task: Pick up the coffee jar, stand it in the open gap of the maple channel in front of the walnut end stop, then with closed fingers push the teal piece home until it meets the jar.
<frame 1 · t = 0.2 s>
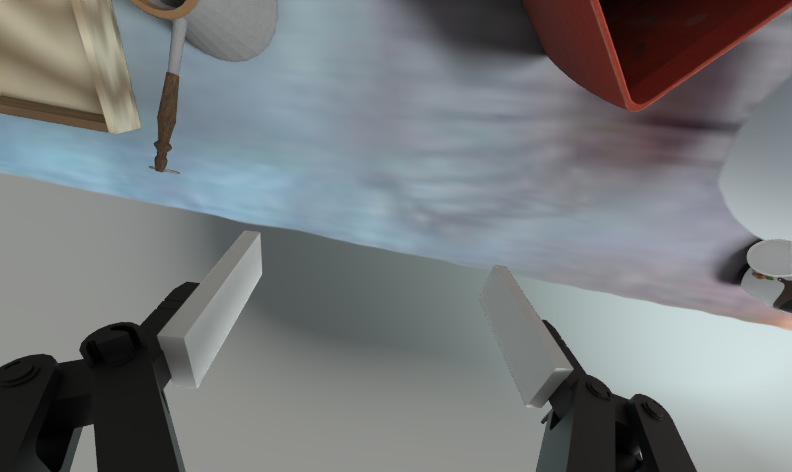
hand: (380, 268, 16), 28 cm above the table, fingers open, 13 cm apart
coffee pot: (232, 52, 33), on the table
spread jar: (755, 261, 55), on the table
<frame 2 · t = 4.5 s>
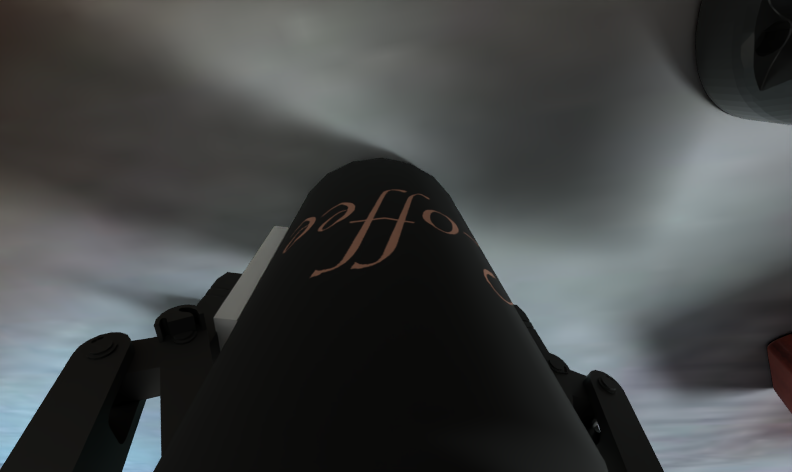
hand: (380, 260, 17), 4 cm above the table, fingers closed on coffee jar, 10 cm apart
coffee jar: (379, 226, 20), on the table, touching gripper
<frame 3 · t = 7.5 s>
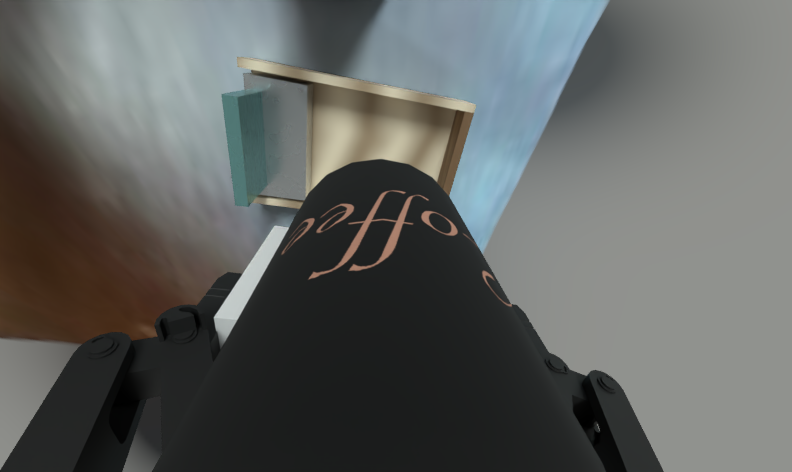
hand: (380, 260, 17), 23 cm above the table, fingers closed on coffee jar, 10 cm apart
teal piece: (274, 147, 29), point 5 cm above the table, slide at 0.0 cm
channel: (357, 148, 35), on the table
coffee jar: (379, 227, 20), point 19 cm above the table, touching gripper
when the fingers open (5 cm above the table, at t = 10.9 s): coffee jar stays where it is, resting on channel.
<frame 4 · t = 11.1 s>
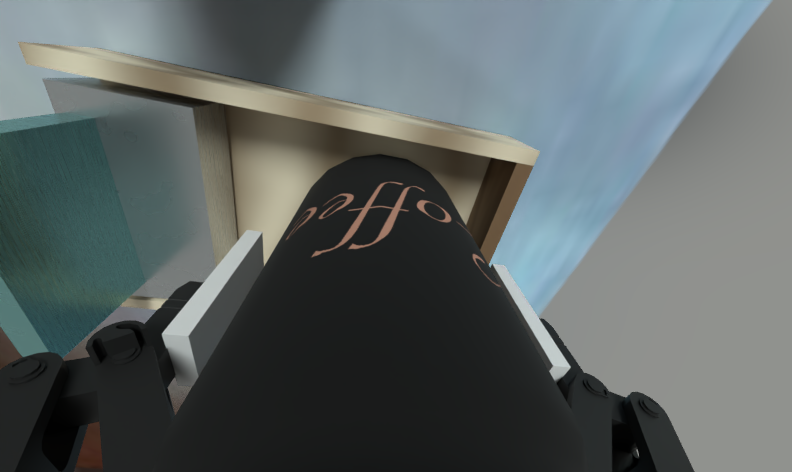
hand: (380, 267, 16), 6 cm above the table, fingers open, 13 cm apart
teal piece: (134, 228, 15), point 5 cm above the table, slide at 0.0 cm
channel: (319, 209, 20), on the table
coffee jar: (378, 221, 21), resting on channel
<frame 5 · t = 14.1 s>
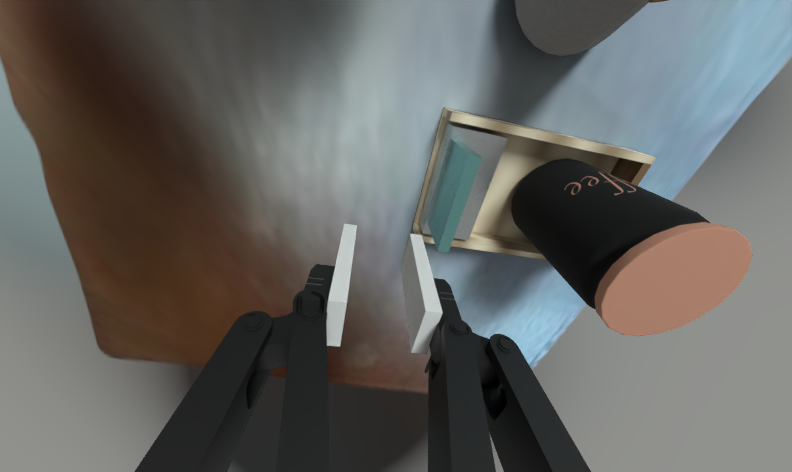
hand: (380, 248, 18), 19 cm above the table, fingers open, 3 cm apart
teal piece: (464, 194, 30), point 5 cm above the table, slide at 0.0 cm
coffee pot: (605, 3, 27), on the table
channel: (514, 189, 36), on the table
coffee jar: (547, 196, 37), resting on channel
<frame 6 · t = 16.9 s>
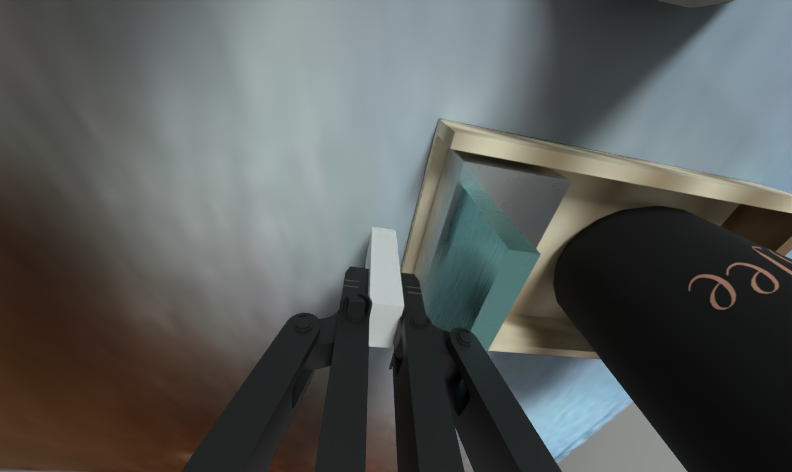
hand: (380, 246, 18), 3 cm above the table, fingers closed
teal piece: (485, 283, 16), point 5 cm above the table, slide at 0.3 cm, touching gripper
channel: (558, 249, 22), on the table
coffee jar: (611, 259, 22), resting on channel
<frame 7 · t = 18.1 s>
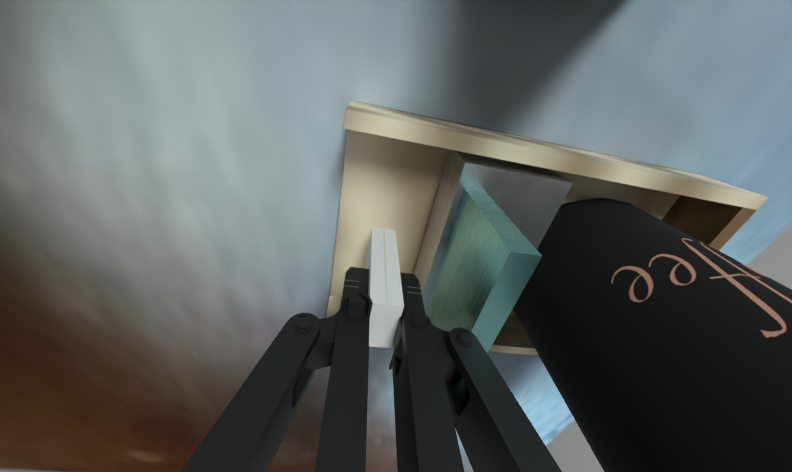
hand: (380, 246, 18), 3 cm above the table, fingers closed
teal piece: (485, 284, 16), point 5 cm above the table, slide at 5.5 cm, touching coffee jar, gripper
channel: (497, 241, 21), on the table
coffee jar: (562, 254, 22), resting on channel, touching teal piece
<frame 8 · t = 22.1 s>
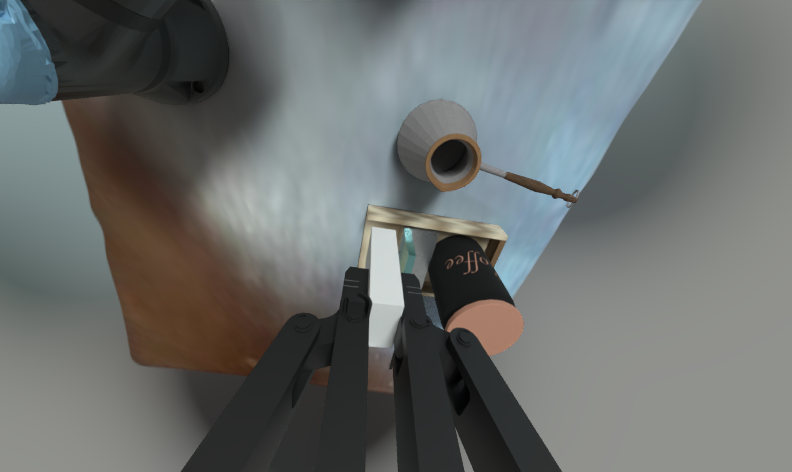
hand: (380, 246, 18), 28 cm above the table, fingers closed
teal piece: (414, 266, 47), point 5 cm above the table, slide at 5.6 cm
coffee pot: (462, 147, 43), on the table
channel: (425, 250, 53), on the table
coffee jar: (453, 255, 53), resting on channel
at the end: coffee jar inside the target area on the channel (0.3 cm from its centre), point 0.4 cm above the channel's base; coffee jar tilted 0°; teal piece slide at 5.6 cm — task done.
